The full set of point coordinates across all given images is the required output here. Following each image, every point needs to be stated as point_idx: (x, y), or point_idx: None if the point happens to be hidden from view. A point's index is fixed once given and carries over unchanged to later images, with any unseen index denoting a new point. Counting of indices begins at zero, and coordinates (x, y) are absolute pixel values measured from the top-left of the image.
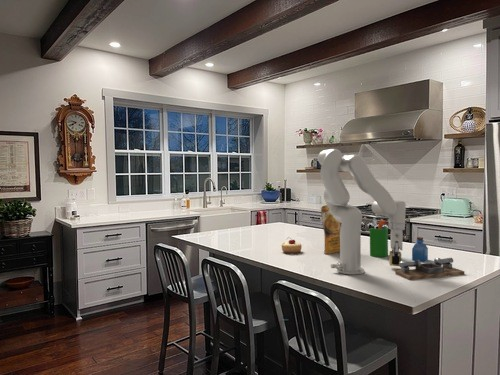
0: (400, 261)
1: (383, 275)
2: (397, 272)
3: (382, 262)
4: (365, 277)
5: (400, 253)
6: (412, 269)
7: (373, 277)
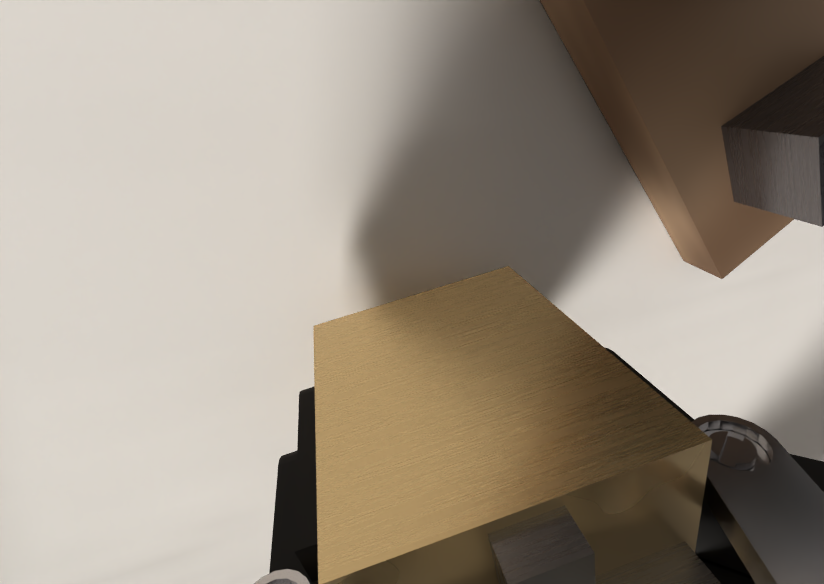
0: (558, 319)
1: (743, 348)
2: (756, 237)
3: (107, 566)
4: (800, 435)
5: (617, 491)
6: (608, 14)
7: (804, 392)
